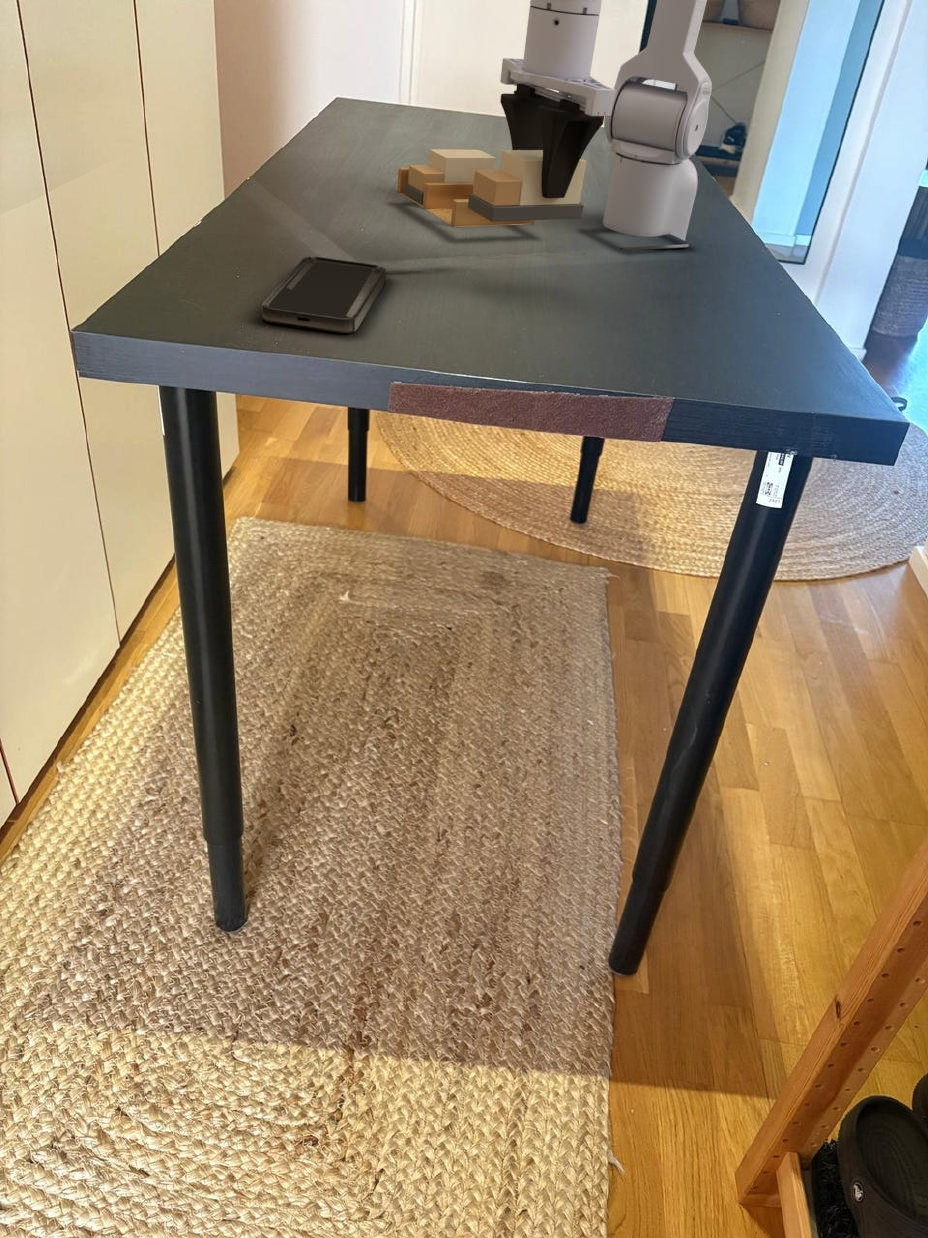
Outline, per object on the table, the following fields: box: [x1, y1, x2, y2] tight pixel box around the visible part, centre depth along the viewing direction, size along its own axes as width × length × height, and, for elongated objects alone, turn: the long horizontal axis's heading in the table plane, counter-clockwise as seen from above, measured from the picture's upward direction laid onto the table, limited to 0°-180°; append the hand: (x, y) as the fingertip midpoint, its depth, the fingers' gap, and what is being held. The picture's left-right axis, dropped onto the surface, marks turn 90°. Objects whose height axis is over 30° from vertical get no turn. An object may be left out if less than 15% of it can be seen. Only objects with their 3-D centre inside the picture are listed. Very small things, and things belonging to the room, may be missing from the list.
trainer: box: [468, 149, 587, 222], centre depth 82 cm, size 10×4×5 cm, turn 118°
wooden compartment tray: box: [396, 167, 535, 228], centre depth 104 cm, size 10×14×4 cm
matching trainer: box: [405, 148, 497, 205], centre depth 105 cm, size 10×4×5 cm, turn 118°
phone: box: [261, 255, 387, 334], centre depth 79 cm, size 8×1×15 cm
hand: (539, 190), depth 83 cm, fingers closed on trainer, 4 cm apart
